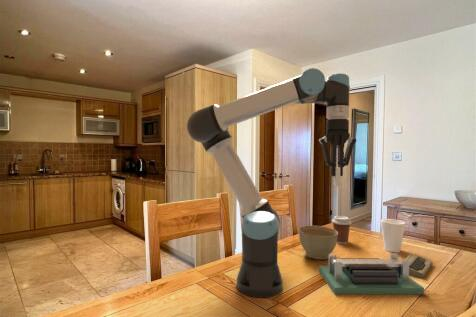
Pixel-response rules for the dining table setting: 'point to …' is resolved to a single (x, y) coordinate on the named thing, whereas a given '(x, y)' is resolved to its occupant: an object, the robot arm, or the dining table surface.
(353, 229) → the dining table surface
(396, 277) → the heat sink mount
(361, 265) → the steel strap
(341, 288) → the circuit board
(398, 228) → the foam cup
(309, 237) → the planter bowl
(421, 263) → the computer
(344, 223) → the coffee cup
